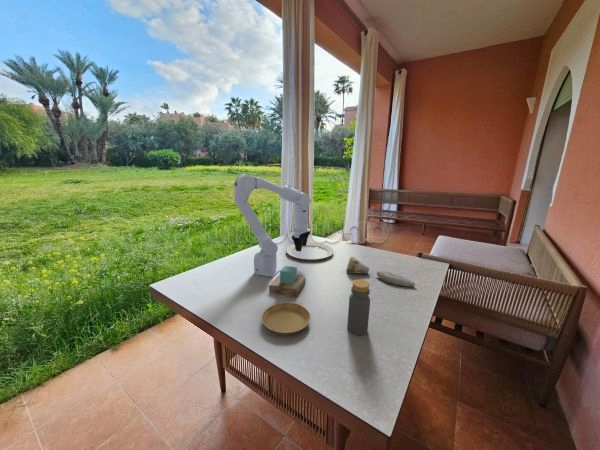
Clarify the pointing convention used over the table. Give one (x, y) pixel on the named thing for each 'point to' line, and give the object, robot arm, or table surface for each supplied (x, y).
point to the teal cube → (288, 275)
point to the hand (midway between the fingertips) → (301, 248)
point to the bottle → (359, 308)
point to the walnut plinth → (287, 287)
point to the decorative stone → (395, 278)
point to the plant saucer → (286, 318)
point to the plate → (310, 244)
